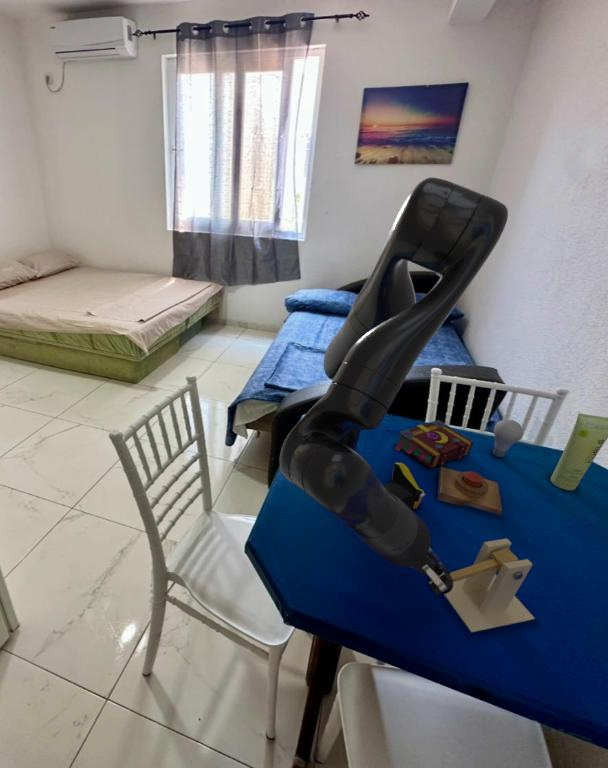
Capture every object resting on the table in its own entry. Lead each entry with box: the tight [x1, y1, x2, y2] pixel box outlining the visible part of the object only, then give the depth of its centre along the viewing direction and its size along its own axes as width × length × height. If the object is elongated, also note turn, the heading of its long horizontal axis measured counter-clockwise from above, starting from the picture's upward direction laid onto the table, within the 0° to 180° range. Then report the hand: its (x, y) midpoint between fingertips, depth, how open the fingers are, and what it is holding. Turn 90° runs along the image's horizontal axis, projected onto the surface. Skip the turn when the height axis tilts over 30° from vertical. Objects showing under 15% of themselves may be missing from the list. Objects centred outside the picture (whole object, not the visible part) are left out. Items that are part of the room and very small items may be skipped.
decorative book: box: [394, 419, 474, 469], centre depth 106 cm, size 11×16×5 cm
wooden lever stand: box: [443, 538, 535, 633], centre depth 67 cm, size 12×9×13 cm
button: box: [463, 471, 484, 488], centre depth 91 cm, size 4×4×2 cm
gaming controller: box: [383, 462, 426, 510], centre depth 90 cm, size 15×6×10 cm
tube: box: [550, 413, 608, 491], centre depth 93 cm, size 6×5×20 cm
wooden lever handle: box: [426, 548, 519, 595], centre depth 64 cm, size 14×4×4 cm, turn 101°
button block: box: [437, 466, 503, 516], centre depth 92 cm, size 12×10×4 cm
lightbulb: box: [492, 418, 524, 458], centre depth 104 cm, size 6×6×11 cm
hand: (441, 573), depth 63 cm, fingers closed
